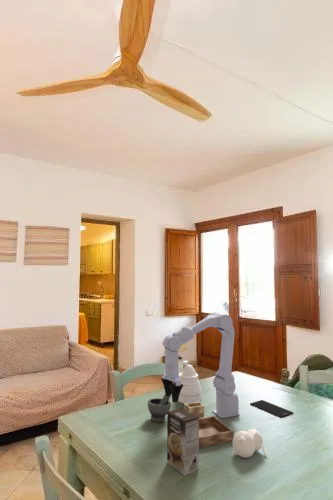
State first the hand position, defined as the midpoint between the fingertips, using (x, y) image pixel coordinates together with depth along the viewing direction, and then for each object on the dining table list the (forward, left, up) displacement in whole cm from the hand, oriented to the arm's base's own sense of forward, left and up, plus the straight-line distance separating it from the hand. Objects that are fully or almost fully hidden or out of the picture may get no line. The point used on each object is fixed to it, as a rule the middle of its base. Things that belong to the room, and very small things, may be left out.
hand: (171, 398), depth 135 cm
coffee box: (+9, +30, -10) cm, 33 cm away
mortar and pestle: (+4, -5, -10) cm, 12 cm away
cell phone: (-48, +3, -10) cm, 50 cm away
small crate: (-10, 0, -10) cm, 14 cm away
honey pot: (-18, -22, -10) cm, 30 cm away
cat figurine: (-16, +32, -10) cm, 37 cm away
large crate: (-8, +15, -10) cm, 20 cm away
